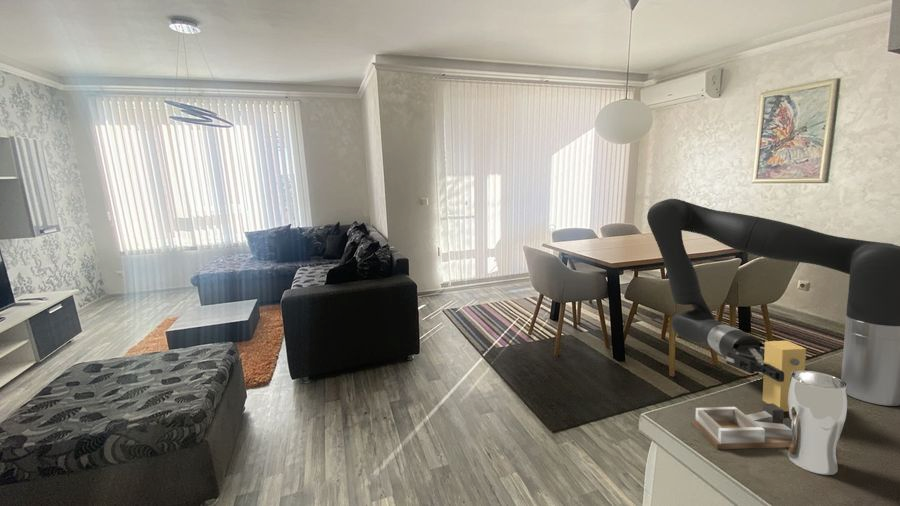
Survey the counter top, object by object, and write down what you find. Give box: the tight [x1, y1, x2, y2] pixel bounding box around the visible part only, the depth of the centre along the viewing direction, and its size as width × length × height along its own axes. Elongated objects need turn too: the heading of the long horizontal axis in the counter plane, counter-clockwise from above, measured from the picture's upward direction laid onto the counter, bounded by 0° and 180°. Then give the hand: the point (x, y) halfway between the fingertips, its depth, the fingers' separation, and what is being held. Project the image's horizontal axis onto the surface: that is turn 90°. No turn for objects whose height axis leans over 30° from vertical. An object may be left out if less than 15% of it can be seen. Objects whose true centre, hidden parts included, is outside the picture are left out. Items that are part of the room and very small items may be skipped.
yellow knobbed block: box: [762, 340, 807, 412], centre depth 76 cm, size 4×6×13 cm
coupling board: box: [691, 403, 792, 450], centre depth 71 cm, size 16×8×4 cm, turn 88°
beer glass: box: [787, 370, 848, 476], centre depth 62 cm, size 7×7×15 cm
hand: (795, 376), depth 74 cm, fingers closed on yellow knobbed block, 4 cm apart
